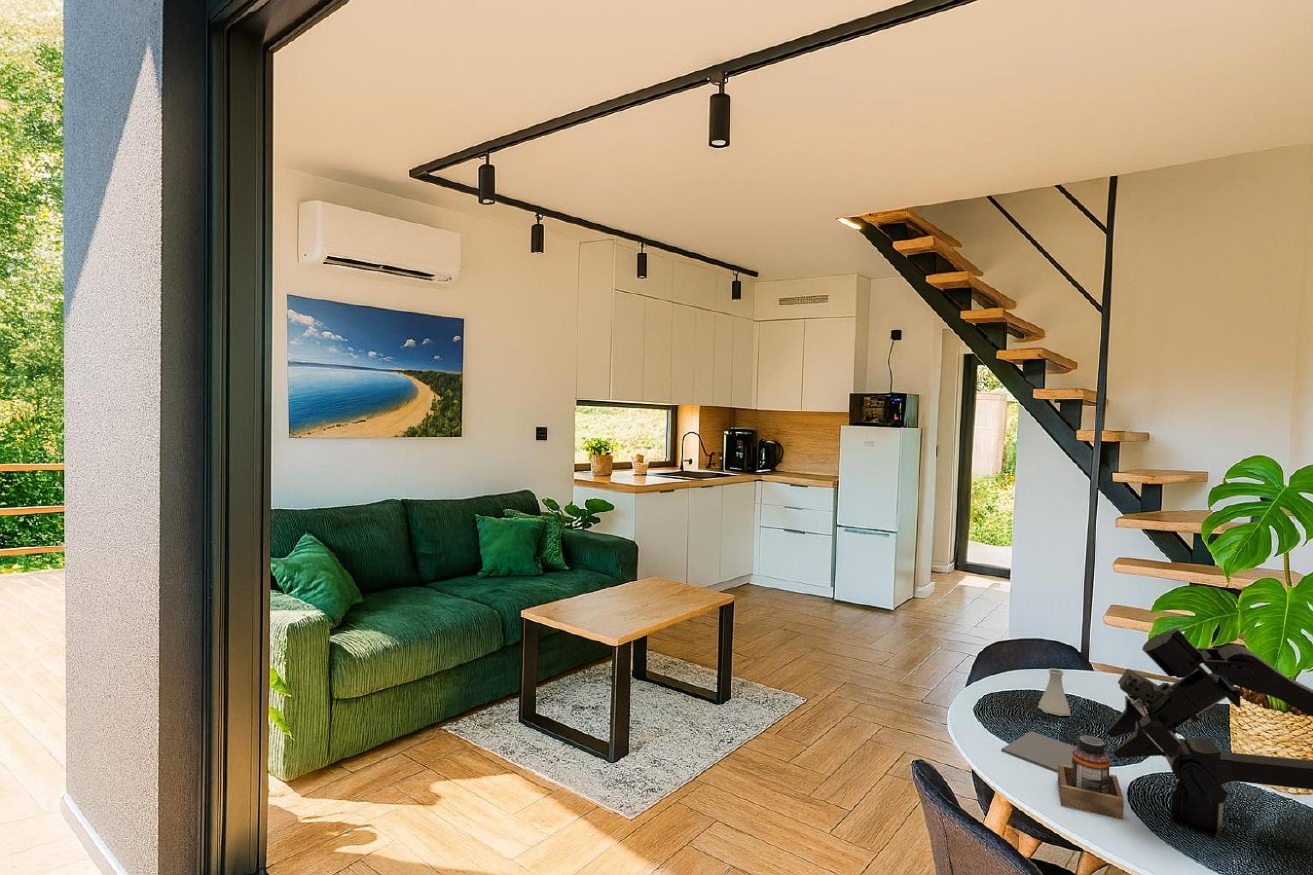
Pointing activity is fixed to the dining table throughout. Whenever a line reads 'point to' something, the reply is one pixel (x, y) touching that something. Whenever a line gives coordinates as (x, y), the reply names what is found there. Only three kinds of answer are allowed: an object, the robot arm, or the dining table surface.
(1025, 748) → the grey-brown square block
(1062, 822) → the dining table surface
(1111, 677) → the dining table surface
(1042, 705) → the flask
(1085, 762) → the supplement bottle
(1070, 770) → the walnut box
